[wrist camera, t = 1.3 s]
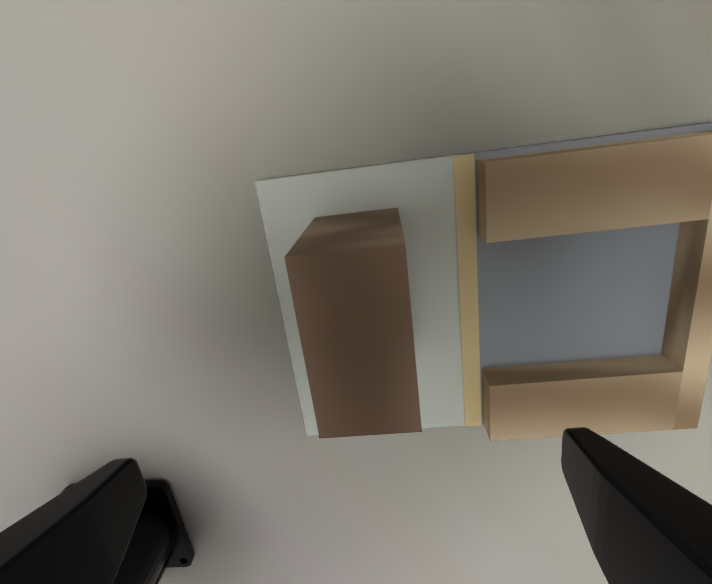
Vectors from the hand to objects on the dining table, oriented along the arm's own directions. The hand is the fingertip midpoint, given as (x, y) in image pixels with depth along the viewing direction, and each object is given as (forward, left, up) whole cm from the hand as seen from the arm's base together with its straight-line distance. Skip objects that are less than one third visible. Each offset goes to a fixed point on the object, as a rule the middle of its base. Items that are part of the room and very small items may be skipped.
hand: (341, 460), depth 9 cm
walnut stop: (0, 0, -11) cm, 11 cm away
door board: (-1, -5, -11) cm, 12 cm away
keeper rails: (-1, -9, -11) cm, 15 cm away
